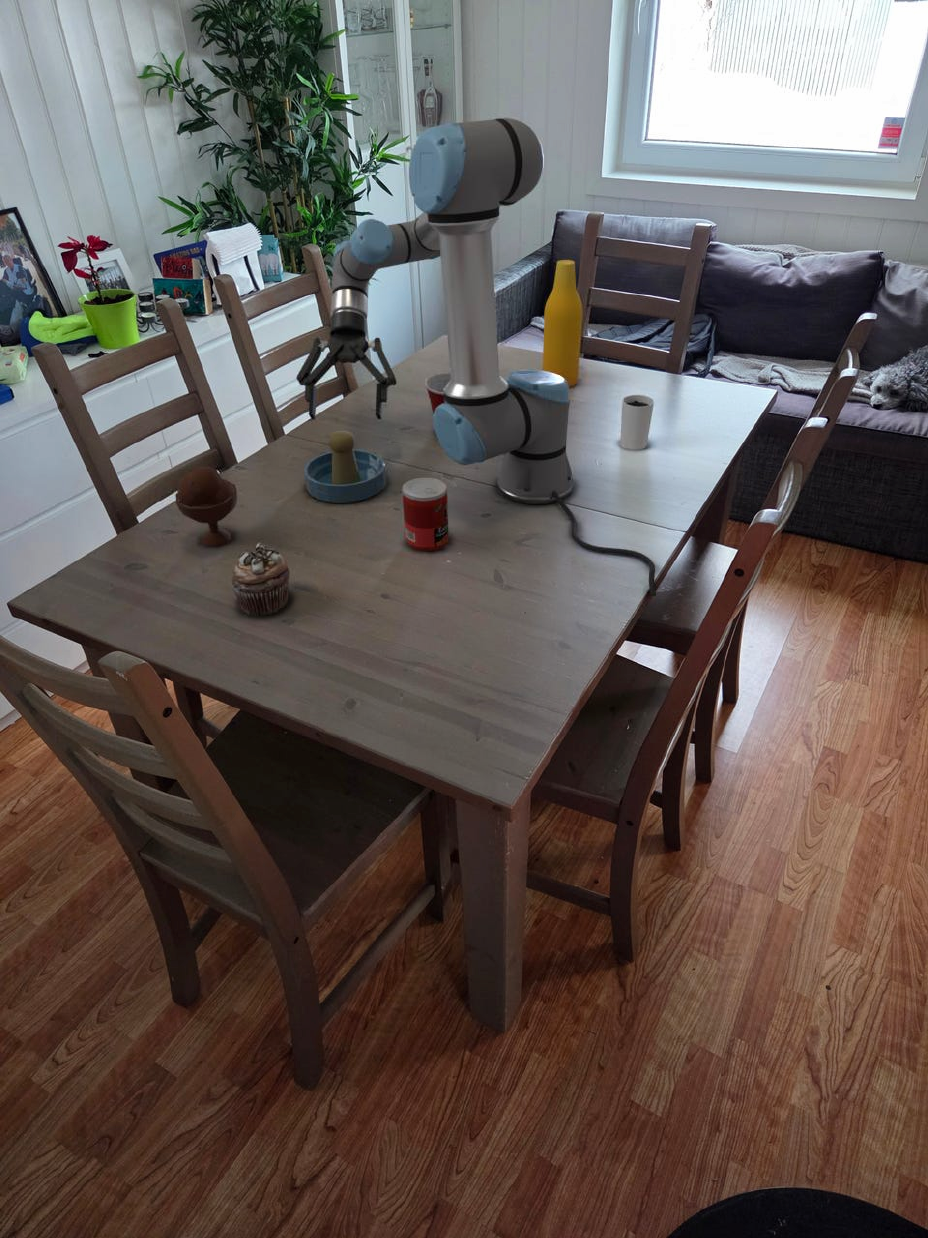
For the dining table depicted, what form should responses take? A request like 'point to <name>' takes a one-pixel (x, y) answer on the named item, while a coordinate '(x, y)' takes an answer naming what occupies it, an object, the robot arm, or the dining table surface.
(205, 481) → the ice cream bowl
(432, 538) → the canned food
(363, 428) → the dining table surface
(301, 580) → the dining table surface
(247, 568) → the cupcake
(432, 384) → the plastic cup
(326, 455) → the bowl
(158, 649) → the dining table surface
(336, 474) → the olive game pawn
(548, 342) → the beer bottle
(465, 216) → the robot arm
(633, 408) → the white coffee cup
